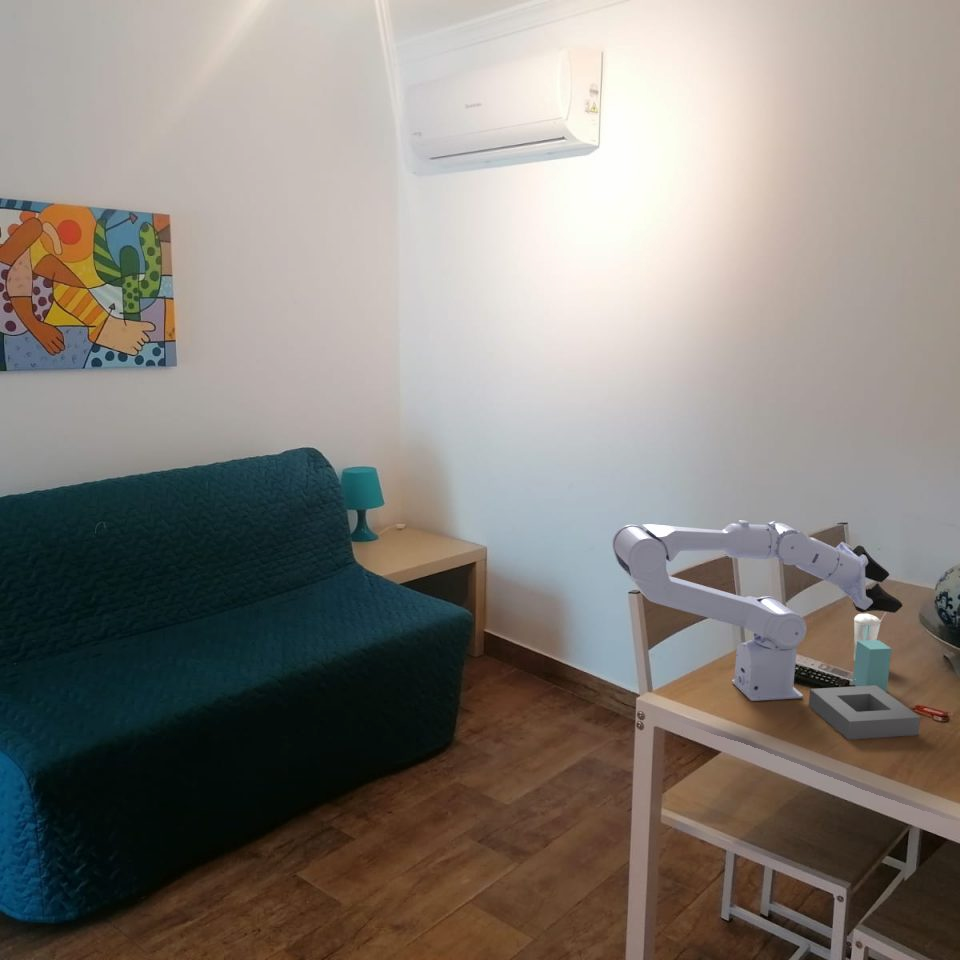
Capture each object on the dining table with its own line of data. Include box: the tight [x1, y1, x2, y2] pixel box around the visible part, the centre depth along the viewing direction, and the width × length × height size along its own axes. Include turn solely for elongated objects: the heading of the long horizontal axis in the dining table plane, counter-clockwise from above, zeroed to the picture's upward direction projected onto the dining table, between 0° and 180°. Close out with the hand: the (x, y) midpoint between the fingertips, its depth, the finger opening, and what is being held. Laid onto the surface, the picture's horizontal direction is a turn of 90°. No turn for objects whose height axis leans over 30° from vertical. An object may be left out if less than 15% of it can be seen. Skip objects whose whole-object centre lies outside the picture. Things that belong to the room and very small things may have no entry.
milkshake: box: [853, 611, 887, 662], centre depth 173 cm, size 4×5×10 cm
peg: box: [852, 639, 892, 693], centre depth 162 cm, size 4×4×8 cm
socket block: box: [808, 685, 921, 740], centre depth 150 cm, size 12×12×3 cm
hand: (891, 592), depth 160 cm, fingers open, 7 cm apart
